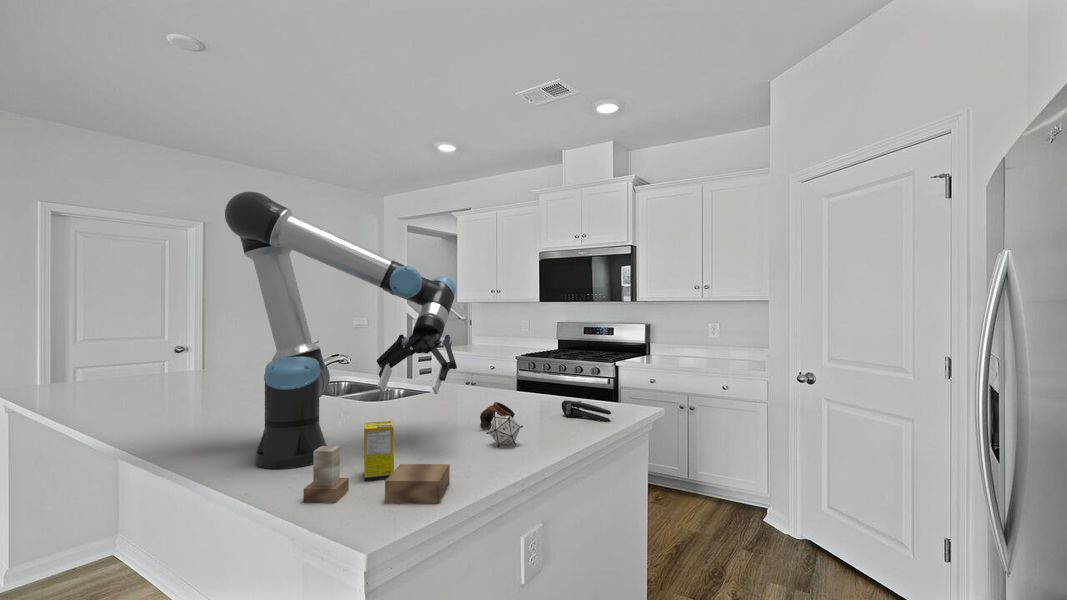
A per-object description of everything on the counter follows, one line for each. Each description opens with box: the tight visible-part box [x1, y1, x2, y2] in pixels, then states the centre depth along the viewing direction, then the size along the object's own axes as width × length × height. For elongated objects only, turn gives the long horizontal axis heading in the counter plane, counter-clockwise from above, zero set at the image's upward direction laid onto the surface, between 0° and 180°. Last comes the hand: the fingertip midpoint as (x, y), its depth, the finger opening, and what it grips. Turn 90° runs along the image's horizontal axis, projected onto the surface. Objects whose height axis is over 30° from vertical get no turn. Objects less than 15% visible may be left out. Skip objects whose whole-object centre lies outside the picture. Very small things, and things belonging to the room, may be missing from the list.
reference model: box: [302, 445, 350, 504], centre depth 96 cm, size 6×6×9 cm
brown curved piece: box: [479, 401, 516, 429], centre depth 150 cm, size 12×10×8 cm
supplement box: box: [363, 420, 395, 482], centre depth 108 cm, size 6×6×11 cm
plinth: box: [384, 463, 451, 504], centre depth 97 cm, size 10×10×4 cm
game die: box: [485, 413, 524, 449], centre depth 131 cm, size 9×8×10 cm
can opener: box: [561, 399, 612, 422], centre depth 163 cm, size 18×7×6 cm, turn 53°
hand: (407, 390), depth 120 cm, fingers open, 13 cm apart
